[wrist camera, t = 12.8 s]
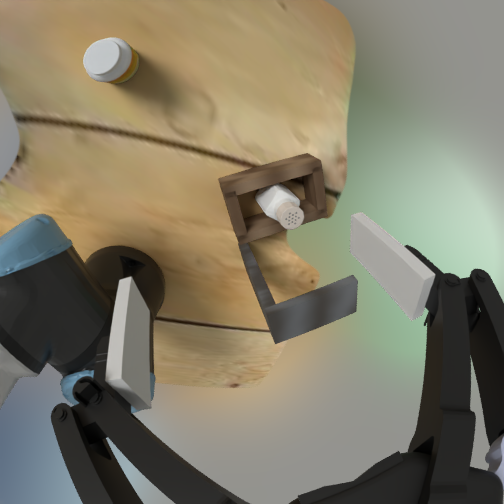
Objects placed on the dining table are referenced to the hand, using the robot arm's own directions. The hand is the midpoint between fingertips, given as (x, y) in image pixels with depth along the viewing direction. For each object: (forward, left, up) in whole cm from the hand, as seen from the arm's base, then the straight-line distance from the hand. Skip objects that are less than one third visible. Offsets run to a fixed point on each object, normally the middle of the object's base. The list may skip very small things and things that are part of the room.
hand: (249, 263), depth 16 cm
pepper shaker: (+8, -8, -26) cm, 29 cm away
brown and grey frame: (+8, -12, -26) cm, 30 cm away
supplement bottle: (-7, +17, -26) cm, 32 cm away
